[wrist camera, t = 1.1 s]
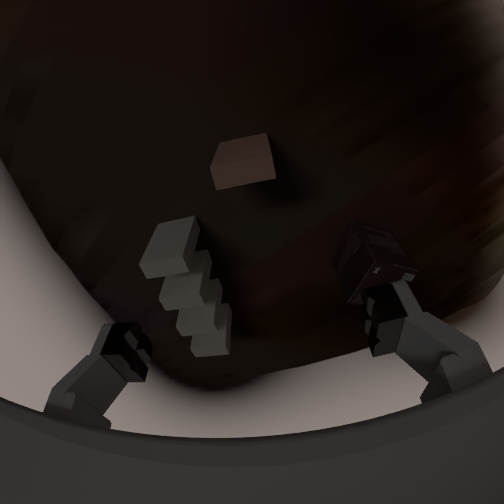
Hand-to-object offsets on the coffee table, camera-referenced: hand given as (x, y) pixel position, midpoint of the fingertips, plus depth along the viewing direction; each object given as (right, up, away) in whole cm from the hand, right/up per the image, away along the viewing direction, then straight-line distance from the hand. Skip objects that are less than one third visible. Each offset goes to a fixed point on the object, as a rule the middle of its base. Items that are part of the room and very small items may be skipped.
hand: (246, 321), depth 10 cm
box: (+13, +3, +23) cm, 26 cm away
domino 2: (-7, +2, +23) cm, 24 cm away
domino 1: (-8, +5, +21) cm, 23 cm away
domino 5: (0, +12, +16) cm, 20 cm away
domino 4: (-5, -6, +29) cm, 30 cm away
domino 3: (-6, -2, +26) cm, 27 cm away
